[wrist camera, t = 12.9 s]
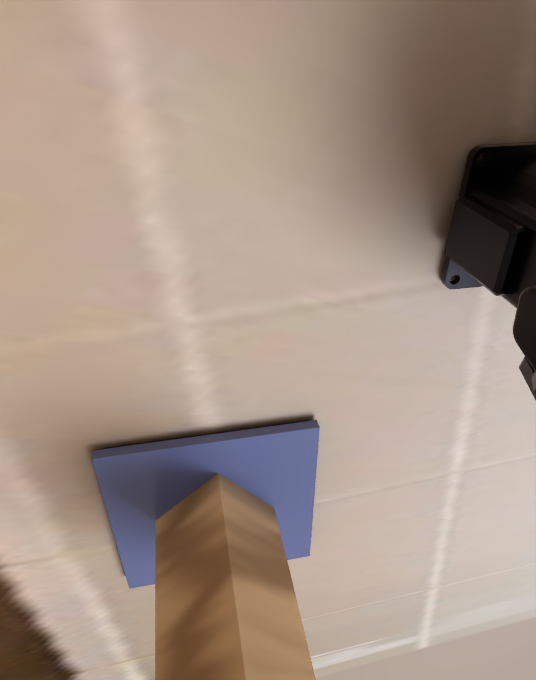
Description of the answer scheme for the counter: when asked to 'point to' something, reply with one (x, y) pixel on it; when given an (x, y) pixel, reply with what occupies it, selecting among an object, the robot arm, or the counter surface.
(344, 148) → the counter surface
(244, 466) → the blue tile
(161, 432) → the counter surface
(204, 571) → the oak block
